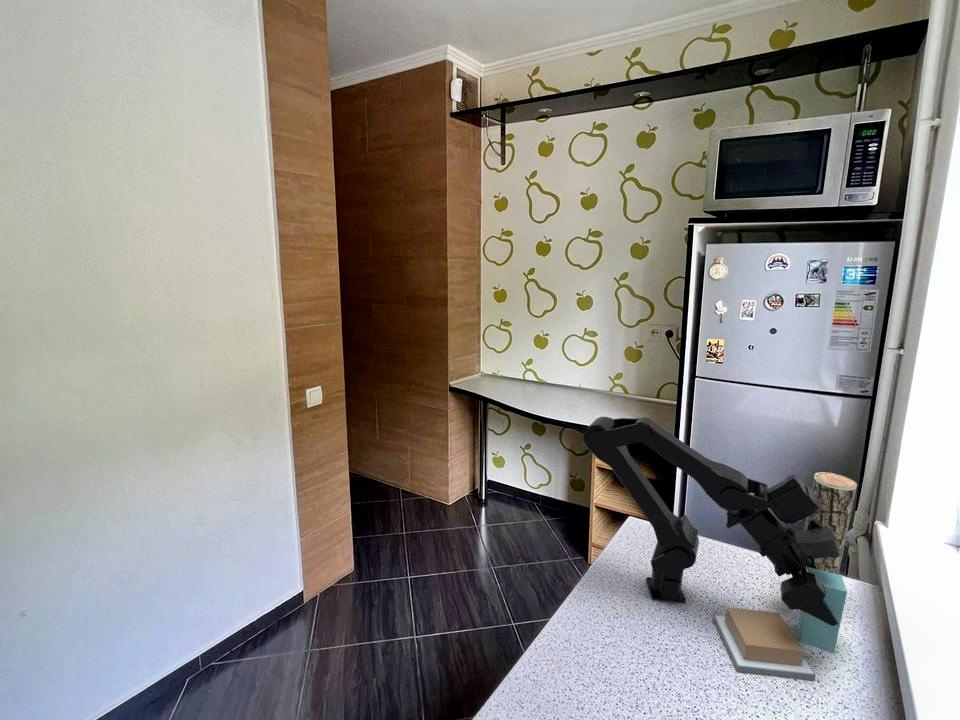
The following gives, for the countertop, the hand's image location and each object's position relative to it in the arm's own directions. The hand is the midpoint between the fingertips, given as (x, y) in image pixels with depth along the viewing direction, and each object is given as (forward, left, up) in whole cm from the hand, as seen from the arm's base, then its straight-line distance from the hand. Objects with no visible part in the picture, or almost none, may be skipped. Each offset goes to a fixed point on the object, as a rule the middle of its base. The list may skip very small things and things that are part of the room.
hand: (831, 608), depth 89 cm
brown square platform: (+4, -12, -7) cm, 14 cm away
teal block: (0, -1, -7) cm, 7 cm away
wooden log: (-13, +5, -7) cm, 16 cm away
